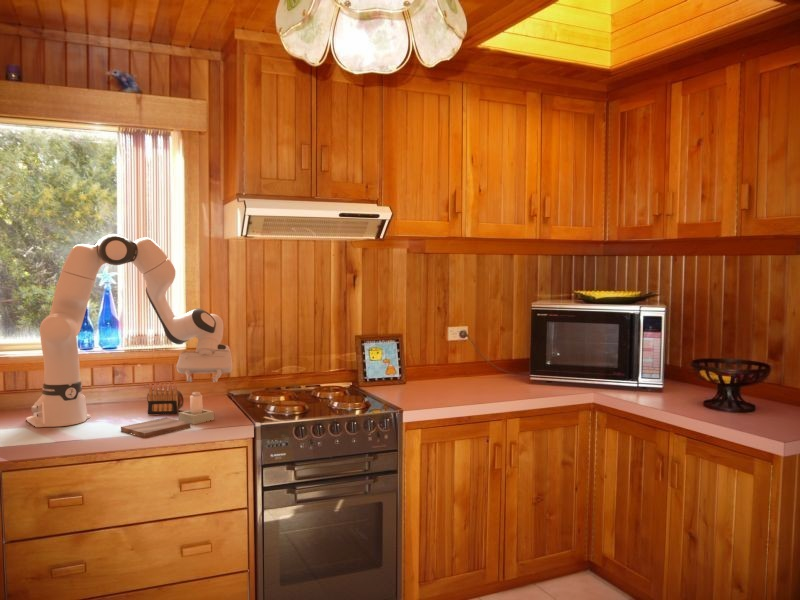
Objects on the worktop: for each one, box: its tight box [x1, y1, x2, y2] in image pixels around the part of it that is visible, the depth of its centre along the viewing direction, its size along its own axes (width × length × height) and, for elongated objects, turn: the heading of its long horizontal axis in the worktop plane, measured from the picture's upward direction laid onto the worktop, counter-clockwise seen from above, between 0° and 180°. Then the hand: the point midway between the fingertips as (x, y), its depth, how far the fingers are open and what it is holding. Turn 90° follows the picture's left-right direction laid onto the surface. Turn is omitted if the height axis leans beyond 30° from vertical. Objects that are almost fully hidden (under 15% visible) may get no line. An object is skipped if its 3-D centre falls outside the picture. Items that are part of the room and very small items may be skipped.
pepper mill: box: [189, 391, 203, 415], centre depth 231 cm, size 4×4×10 cm
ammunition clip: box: [147, 381, 179, 415], centre depth 242 cm, size 11×2×12 cm, turn 95°
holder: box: [178, 408, 215, 425], centre depth 231 cm, size 9×9×3 cm
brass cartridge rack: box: [146, 387, 185, 411], centre depth 248 cm, size 15×3×8 cm, turn 72°
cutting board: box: [120, 416, 191, 439], centre depth 219 cm, size 14×17×2 cm
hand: (201, 381), depth 239 cm, fingers open, 8 cm apart
